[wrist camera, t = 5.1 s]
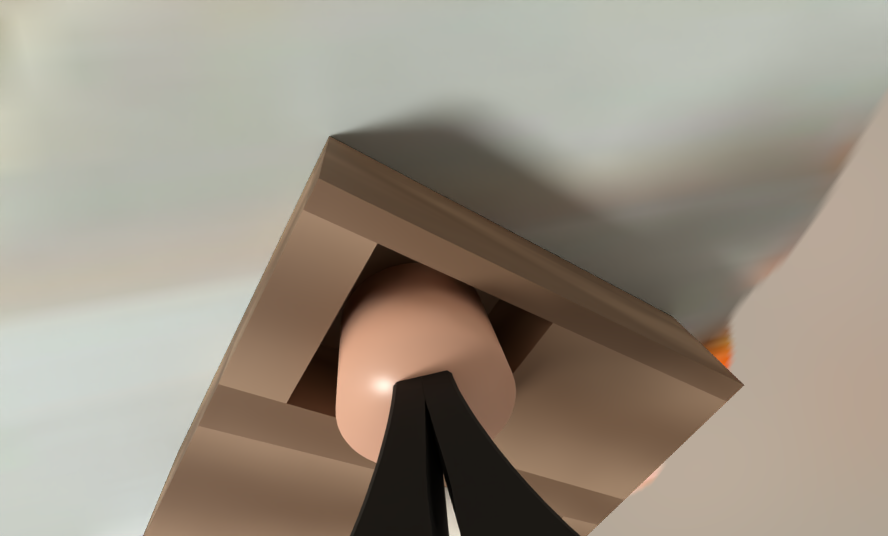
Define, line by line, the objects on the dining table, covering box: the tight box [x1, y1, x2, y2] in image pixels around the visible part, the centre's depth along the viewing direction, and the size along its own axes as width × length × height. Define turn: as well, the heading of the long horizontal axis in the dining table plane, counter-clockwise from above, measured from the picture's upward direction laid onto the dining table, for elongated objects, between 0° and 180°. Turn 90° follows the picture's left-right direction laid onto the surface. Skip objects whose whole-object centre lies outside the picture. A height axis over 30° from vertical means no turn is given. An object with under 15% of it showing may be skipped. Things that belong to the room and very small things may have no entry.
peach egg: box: [336, 263, 516, 463], centre depth 13 cm, size 4×4×3 cm
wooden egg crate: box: [143, 136, 744, 536], centre depth 17 cm, size 14×15×4 cm
